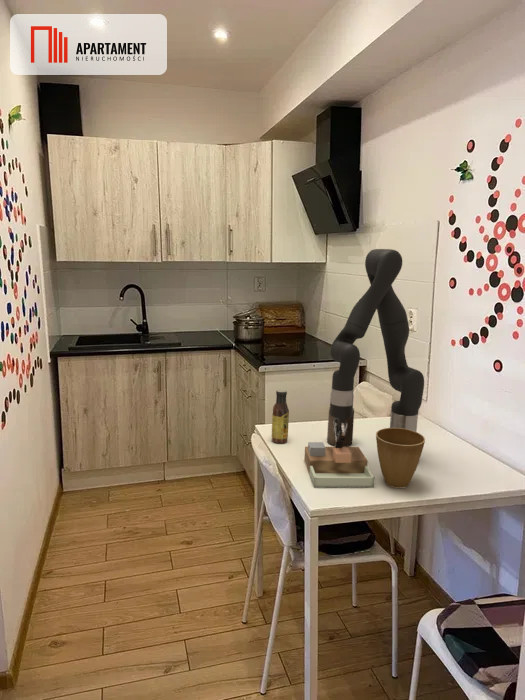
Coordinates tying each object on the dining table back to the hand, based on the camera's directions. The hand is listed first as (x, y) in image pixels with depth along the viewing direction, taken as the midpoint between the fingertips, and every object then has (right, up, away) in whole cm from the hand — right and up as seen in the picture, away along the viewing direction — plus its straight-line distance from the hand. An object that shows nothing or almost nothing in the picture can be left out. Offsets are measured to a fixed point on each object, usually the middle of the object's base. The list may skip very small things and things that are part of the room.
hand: (338, 451), depth 173 cm
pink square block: (0, -2, -4) cm, 4 cm away
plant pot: (+17, -9, -9) cm, 21 cm away
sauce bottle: (-19, -1, +24) cm, 31 cm away
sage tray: (0, -8, -8) cm, 12 cm away
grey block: (-7, -1, +1) cm, 8 cm away
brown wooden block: (-1, -6, +2) cm, 6 cm away
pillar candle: (+4, -2, +25) cm, 25 cm away
